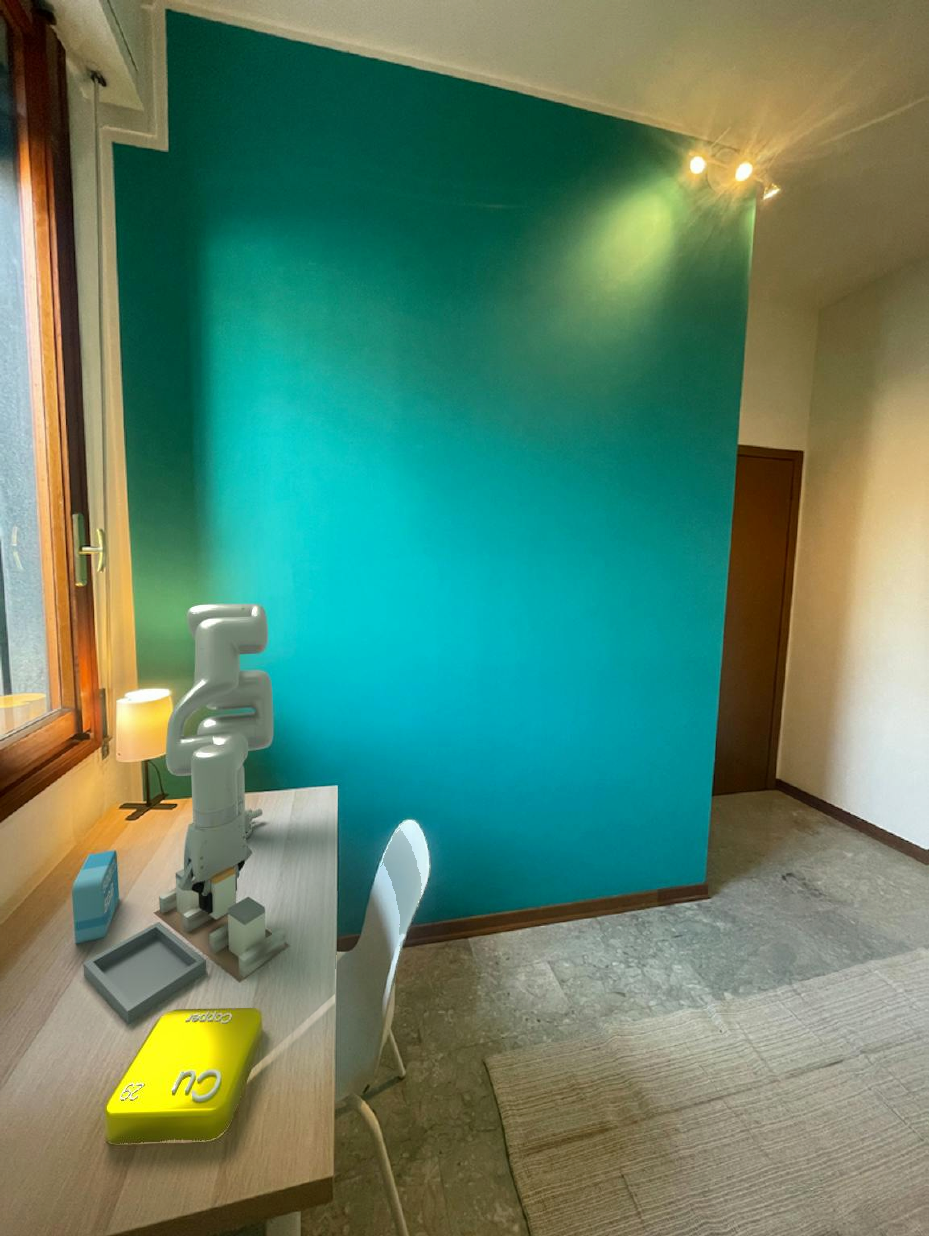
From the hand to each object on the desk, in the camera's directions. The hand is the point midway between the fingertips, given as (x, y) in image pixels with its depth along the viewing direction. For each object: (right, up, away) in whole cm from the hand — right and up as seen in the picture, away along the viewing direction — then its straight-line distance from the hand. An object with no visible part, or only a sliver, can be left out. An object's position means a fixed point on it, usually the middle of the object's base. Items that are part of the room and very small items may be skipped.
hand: (218, 902), depth 96 cm
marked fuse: (0, -1, 0) cm, 1 cm away
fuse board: (0, -6, 0) cm, 6 cm away
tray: (-7, -7, -11) cm, 14 cm away
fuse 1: (-7, -4, +5) cm, 10 cm away
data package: (-24, -5, +2) cm, 25 cm away
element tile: (+10, -10, -27) cm, 30 cm away
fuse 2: (+8, -6, -5) cm, 11 cm away
